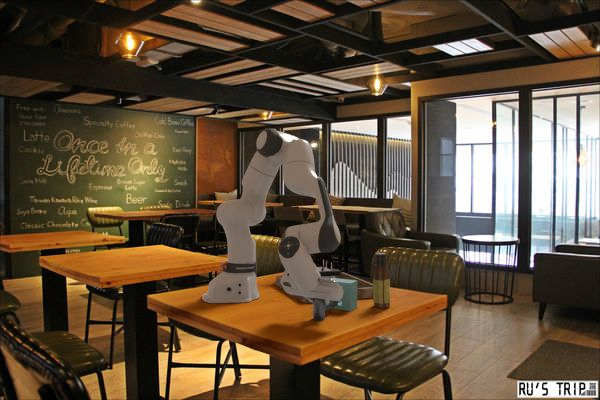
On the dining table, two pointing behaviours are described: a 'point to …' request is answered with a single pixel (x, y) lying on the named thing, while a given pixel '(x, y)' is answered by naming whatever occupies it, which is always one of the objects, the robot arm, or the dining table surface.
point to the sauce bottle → (381, 282)
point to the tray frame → (362, 286)
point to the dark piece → (321, 308)
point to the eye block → (347, 294)
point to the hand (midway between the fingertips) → (319, 301)
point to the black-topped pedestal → (327, 270)
